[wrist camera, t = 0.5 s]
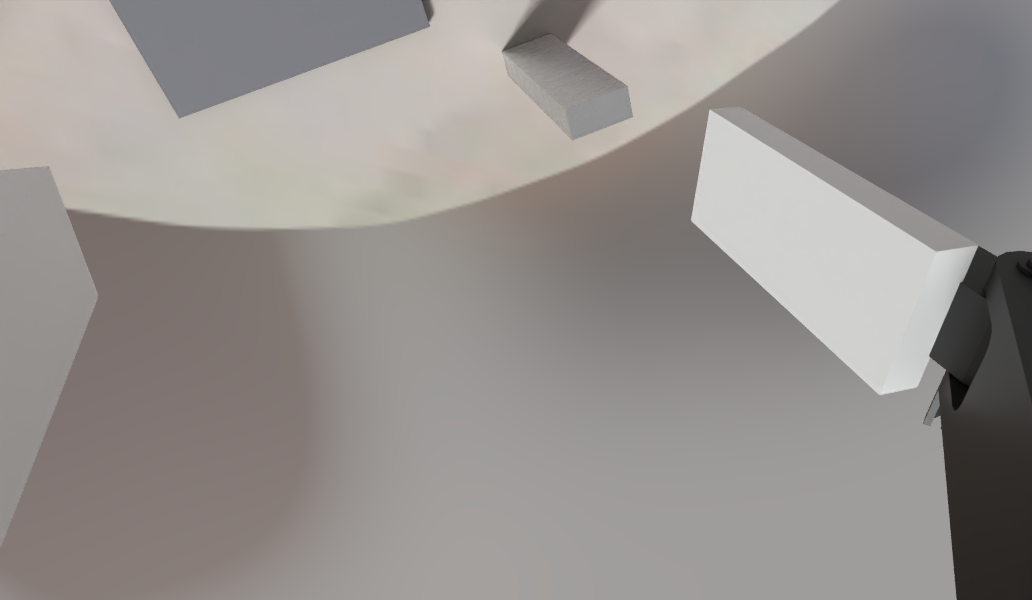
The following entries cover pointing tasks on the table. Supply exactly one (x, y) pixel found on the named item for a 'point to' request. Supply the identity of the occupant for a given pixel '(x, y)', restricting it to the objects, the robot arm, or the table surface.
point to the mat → (254, 40)
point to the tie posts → (568, 86)
